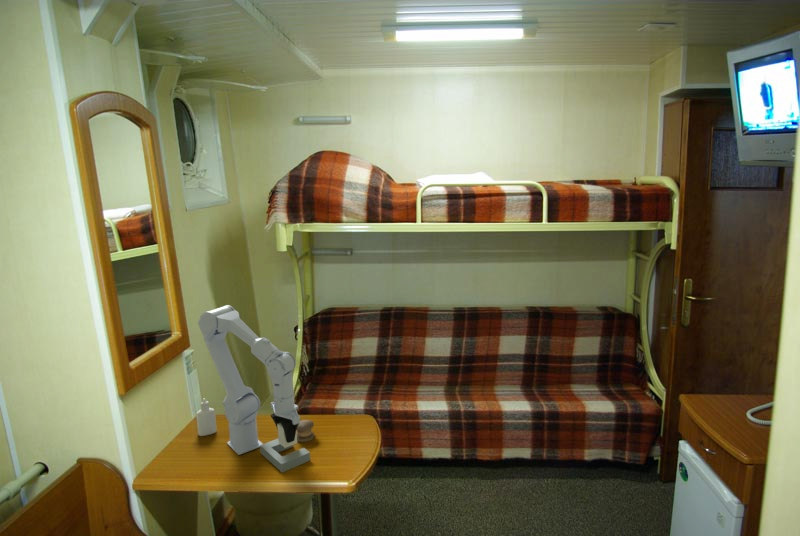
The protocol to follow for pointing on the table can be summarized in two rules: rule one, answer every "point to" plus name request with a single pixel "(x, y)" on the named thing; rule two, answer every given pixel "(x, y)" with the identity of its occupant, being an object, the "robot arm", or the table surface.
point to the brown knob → (305, 431)
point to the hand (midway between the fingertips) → (286, 438)
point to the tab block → (282, 437)
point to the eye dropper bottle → (206, 419)
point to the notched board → (286, 461)
